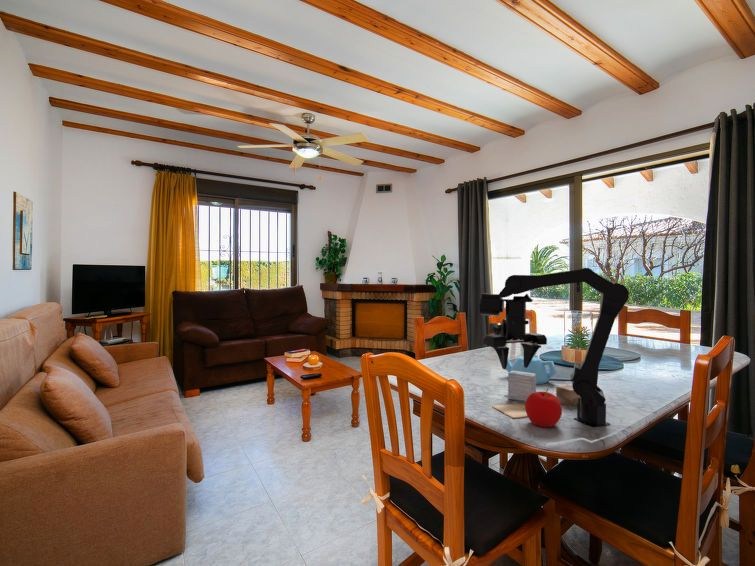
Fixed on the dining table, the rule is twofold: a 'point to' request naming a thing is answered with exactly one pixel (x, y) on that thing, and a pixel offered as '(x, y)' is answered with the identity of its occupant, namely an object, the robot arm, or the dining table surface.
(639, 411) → the dining table surface
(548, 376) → the teapot
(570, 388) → the walnut cube
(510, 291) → the robot arm
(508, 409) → the cork pad
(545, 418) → the fruit
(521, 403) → the tile
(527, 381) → the medicine box
